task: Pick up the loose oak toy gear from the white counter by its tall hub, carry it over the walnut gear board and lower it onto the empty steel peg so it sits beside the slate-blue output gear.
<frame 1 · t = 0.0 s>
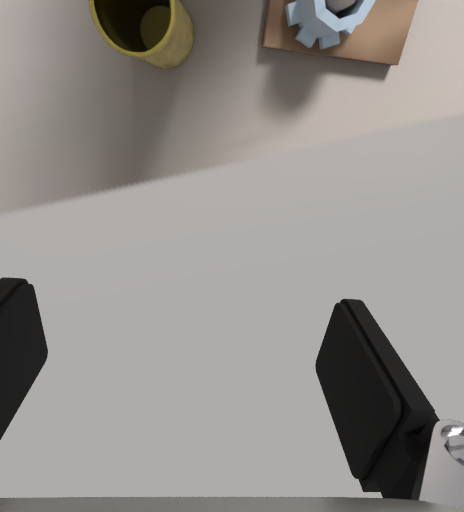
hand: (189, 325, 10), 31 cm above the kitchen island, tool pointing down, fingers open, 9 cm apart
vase: (163, 33, 32), on the kitchen island
output gear: (323, 4, 30), point 1 cm above the kitchen island, touching gear board
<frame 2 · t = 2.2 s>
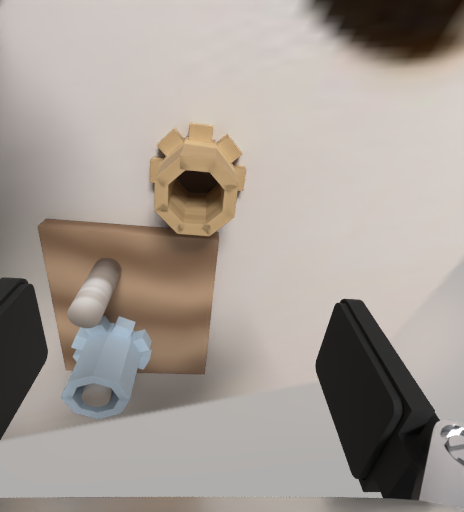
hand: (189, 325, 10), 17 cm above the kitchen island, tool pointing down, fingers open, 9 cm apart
output gear: (114, 344, 31), point 1 cm above the kitchen island, touching gear board
oak gear: (198, 171, 25), on the kitchen island
gear board: (137, 301, 31), on the kitchen island
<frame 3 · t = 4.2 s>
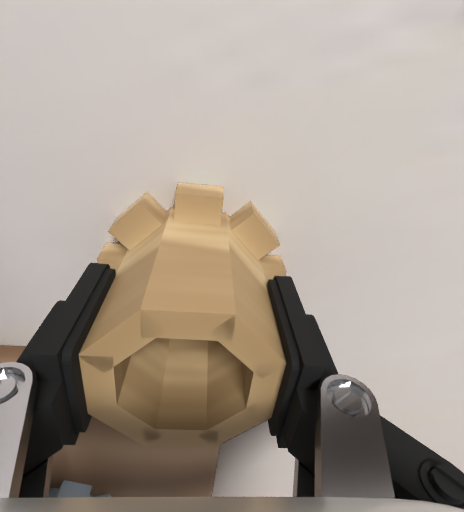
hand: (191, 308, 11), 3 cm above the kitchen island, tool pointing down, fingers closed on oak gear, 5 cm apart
output gear: (61, 511, 20), point 1 cm above the kitchen island, touching gear board
oak gear: (194, 266, 13), on the kitchen island, touching gripper
gear board: (97, 447, 19), on the kitchen island
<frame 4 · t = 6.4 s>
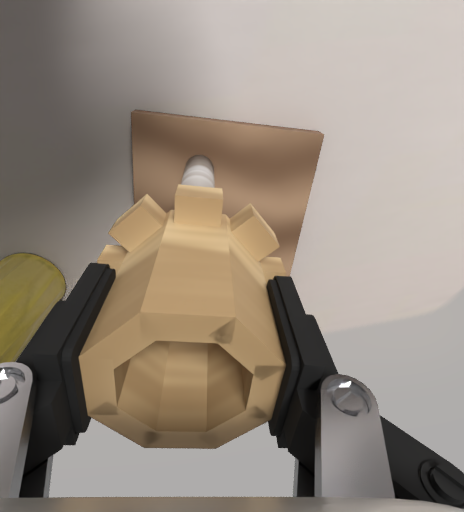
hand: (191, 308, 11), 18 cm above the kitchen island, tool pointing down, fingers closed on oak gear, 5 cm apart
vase: (33, 279, 31), on the kitchen island
oak gear: (194, 268, 13), point 15 cm above the kitchen island, touching gripper
gear board: (219, 217, 29), on the kitchen island
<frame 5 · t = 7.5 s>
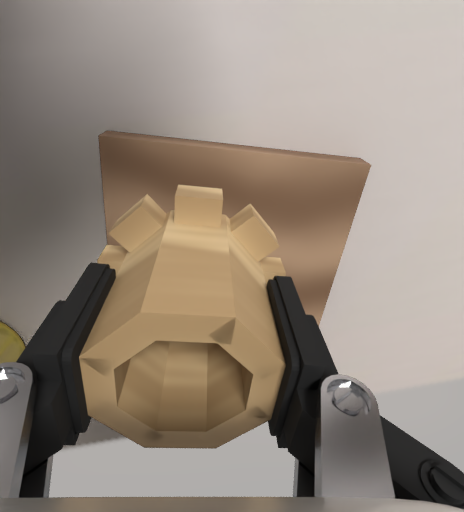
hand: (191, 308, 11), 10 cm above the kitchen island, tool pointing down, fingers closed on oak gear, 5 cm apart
oak gear: (194, 268, 14), point 7 cm above the kitchen island, touching gripper
gear board: (223, 268, 22), on the kitchen island
when the fingers open (6 cm above the kitchen island, at t = 8.6 s): oak gear drops 1 cm, resting on gear board.
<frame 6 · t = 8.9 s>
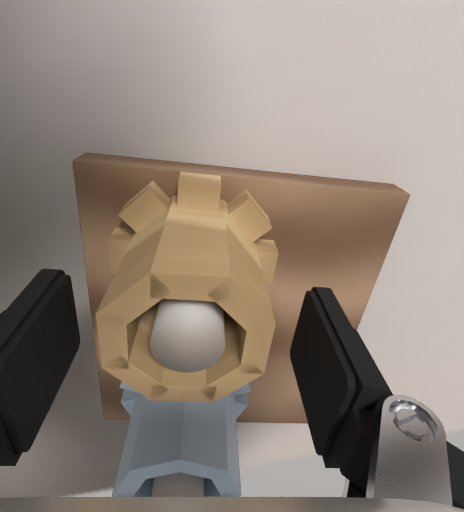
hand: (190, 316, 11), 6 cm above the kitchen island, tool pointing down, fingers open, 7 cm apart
output gear: (187, 379, 19), point 1 cm above the kitchen island, touching gear board
oak gear: (195, 249, 15), point 1 cm above the kitchen island, touching gear board
gear board: (227, 309, 18), on the kitchen island
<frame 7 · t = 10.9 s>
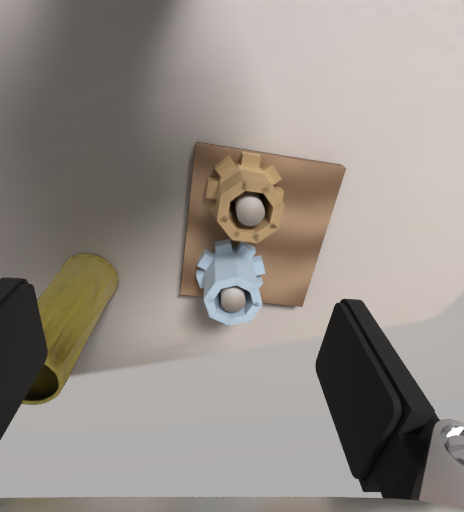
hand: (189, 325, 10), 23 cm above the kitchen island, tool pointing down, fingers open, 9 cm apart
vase: (91, 276, 36), on the kitchen island
output gear: (230, 269, 35), point 1 cm above the kitchen island, touching gear board
oak gear: (244, 190, 31), point 1 cm above the kitchen island, touching gear board
gear board: (254, 230, 34), on the kitchen island
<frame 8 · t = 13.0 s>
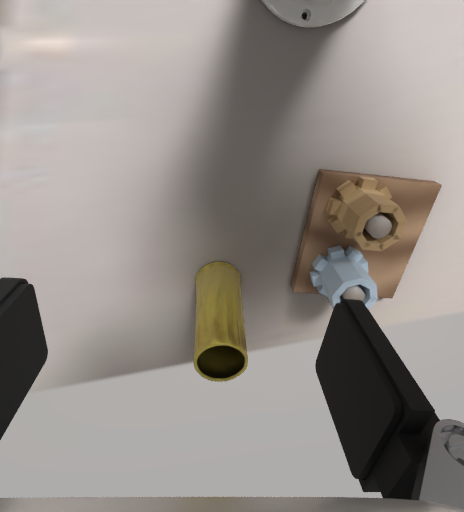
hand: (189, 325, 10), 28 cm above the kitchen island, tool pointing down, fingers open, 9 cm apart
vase: (218, 279, 44), on the kitchen island
output gear: (337, 269, 42), point 1 cm above the kitchen island, touching gear board
oak gear: (356, 207, 38), point 1 cm above the kitchen island, touching gear board
gear board: (357, 237, 41), on the kitchen island
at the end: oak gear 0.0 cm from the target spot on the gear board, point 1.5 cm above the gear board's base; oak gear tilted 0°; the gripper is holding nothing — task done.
